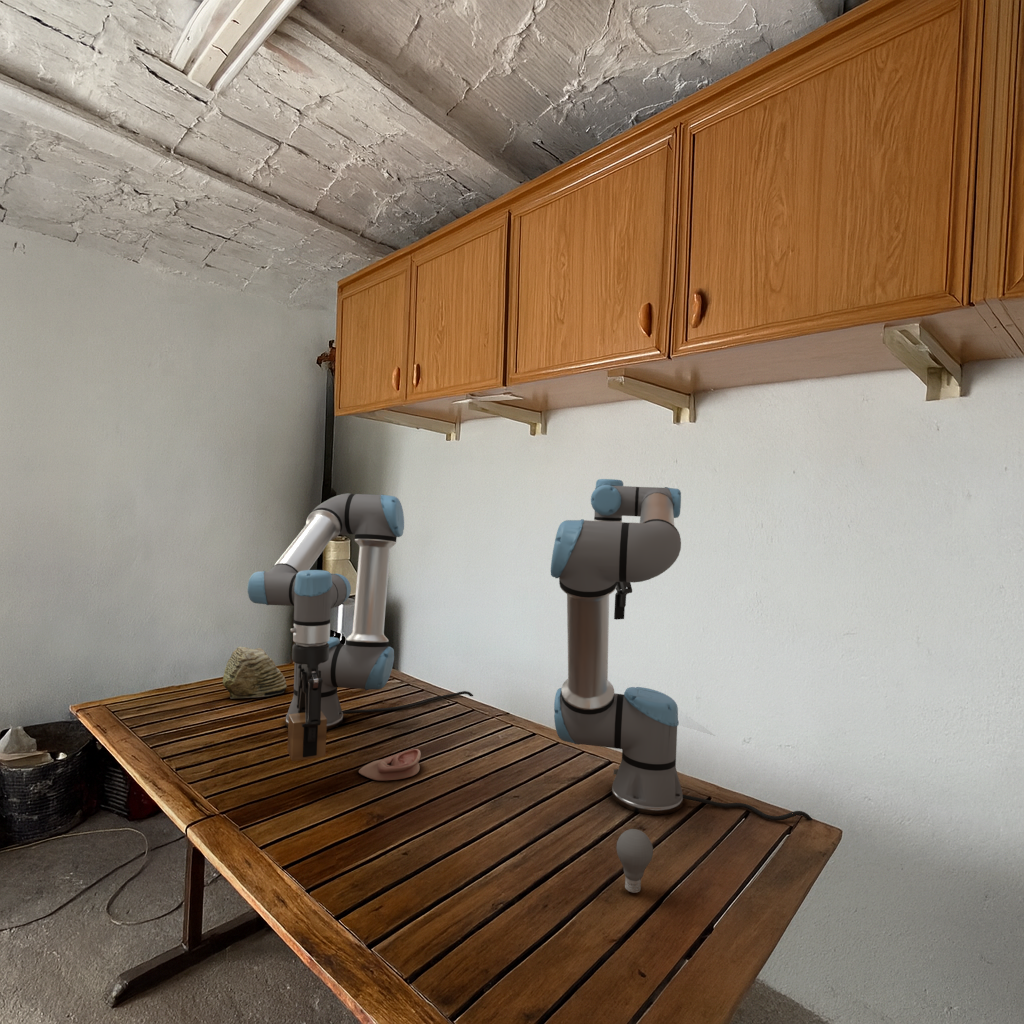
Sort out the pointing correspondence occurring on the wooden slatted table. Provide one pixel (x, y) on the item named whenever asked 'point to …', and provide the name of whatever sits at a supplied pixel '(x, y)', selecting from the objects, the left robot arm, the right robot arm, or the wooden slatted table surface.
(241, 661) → the fossil
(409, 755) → the anatomical model
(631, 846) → the light bulb
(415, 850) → the wooden slatted table surface
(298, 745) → the light brown block
